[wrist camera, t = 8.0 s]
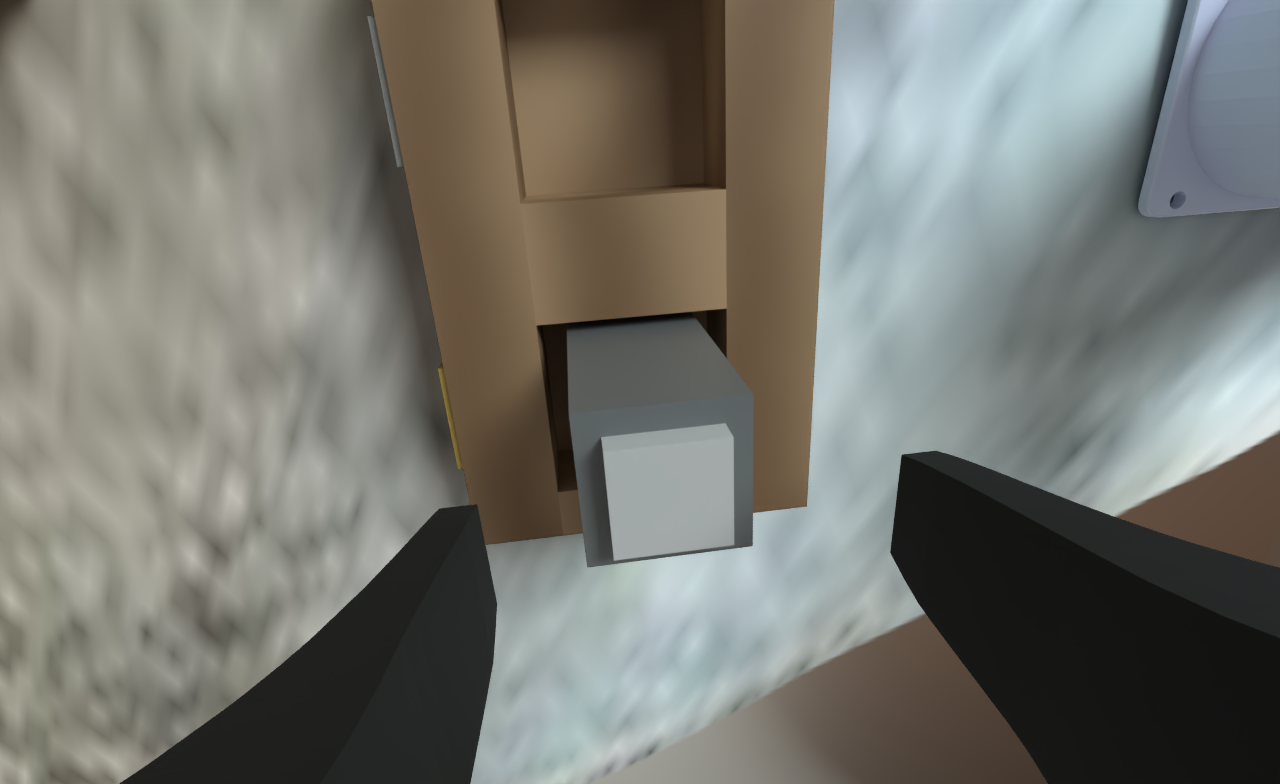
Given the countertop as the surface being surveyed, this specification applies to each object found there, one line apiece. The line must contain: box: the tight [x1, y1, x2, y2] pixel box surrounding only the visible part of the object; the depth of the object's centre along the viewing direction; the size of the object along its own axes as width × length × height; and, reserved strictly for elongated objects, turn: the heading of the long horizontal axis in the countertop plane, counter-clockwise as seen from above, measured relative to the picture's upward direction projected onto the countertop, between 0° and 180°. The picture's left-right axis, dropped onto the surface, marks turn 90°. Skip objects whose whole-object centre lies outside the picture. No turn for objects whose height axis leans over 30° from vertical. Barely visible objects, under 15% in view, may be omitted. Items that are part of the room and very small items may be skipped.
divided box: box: [367, 0, 834, 545], centre depth 17 cm, size 10×16×3 cm, turn 3°
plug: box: [567, 312, 754, 567], centre depth 15 cm, size 4×4×8 cm
